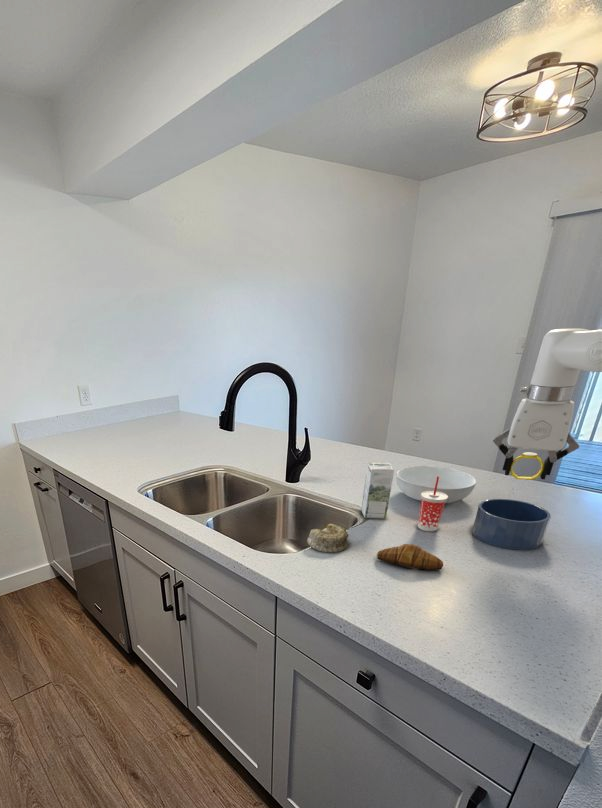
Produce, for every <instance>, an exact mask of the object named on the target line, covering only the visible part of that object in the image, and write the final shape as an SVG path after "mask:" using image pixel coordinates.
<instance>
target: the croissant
mask: <svg viewBox="0 0 602 808" xmlns="http://www.w3.org/2000/svg"><path fill="white" fill-rule="evenodd" d="M376 558H377V560H379V561H381V562H383V563H386V564H390V565H396V566H400V567H403V568H406V569H415V570H425V571H438V570H442V569H443V567H444V561H443V560H442V559H440V557H437V556H436V555H434V554H432V553H431V552H429V551H426V550H424V549H423V548H421V546H419V545H416V544H413V543H407V544H406V543H404V544H402V545H398V546H392V547H387V548H383V549H381V550H379V551H378V552H377V553H376Z"/></svg>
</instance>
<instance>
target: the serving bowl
mask: <svg viewBox="0 0 602 808" xmlns="http://www.w3.org/2000/svg"><path fill="white" fill-rule="evenodd" d="M437 476H439V480H438V485H437V490H436V492H441V493H444V494H446V495H447V496H448V499H447V501H446V502H445V504H450V503H456V502H459V501H462V500H464V499H465V498H467V497H468V496H469V495H471V494H472V492H473V490H474V489H475V487H476V485H477V479H476V478H475V477H474V476H473V475H471V474H469V473H467V472H464V471H462V470H458V469H455V468H450V467H446V466H437V465H412V466H407V467H403V468H401V469H398V471H396V476H395V477H396V478H395V479H396V485H397V486H398V489H399V490H400V491H401V492H402V493H403V494H404V495H405V496H407V497H408V498H411V499H413V500H417V501H420V502H421V498H420V497H421V493H422V492H425V491H434V489H435V484H436V480H437Z"/></svg>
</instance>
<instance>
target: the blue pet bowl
mask: <svg viewBox="0 0 602 808" xmlns="http://www.w3.org/2000/svg"><path fill="white" fill-rule="evenodd" d="M551 518H552V516H551V513H550V511H549V510H547V509H545V508H544V507H542V506H539V505H537V504H534V503H530V502H527V501H522V500H517V499H509V498H491V499H485V500H481V502H480V503H478V506H477V509H476V514H475V518H474V522H473V524H472V525H473V526H472V531H471V532H472V534H473V536H474V537H475V538H477V539H478V540H480V541H481V542H484V543H486V544H488V545H491V546H495V547H499V548H503V549H508V550H509V549H510V550H518V551H519V550H520V551H522V550H525V551H526V550H533V549H536V548H539V547H540V546H541V545H542V543H543V541H544V537H545V534H546V532H547V528H548V526H549V523H550V522H551Z"/></svg>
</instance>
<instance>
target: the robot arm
mask: <svg viewBox="0 0 602 808" xmlns="http://www.w3.org/2000/svg"><path fill="white" fill-rule="evenodd" d="M581 371H585V372H592V373H602V328H600V329H593V330H592V329H591V330H590V329H587V328H578V327H577V328H576V327H575V328H555V329H551V330H549V331H548V332H546V334H545V335H543V339H542V342H541V345H540V349H539V352H538V355H537V359H536V362H535V366H534V370H533V372H532V376H531V380H530V383H529V385H527V386H523V387H522V386H521V387H520V390H519V394H520V395H523V396H524V395H525V397H526V398H523V399H521V401H520V403H519V405H518V407H517V409H516V412H515V414H514V416H513V419H512V421H511V425H510V427H509V428H507V429H506V430H504V431H503V432H500V433H499V434H498V435H496V436H495V437H493V438H492V442H493V443H494V445H495V446H496V447H497V448H498V449H499V451H500V452H501V453H502V454H503V456H504V457H505V459H504V462H503V465H502V471H504V475H505V476H509V475H510V474H511V471H510V469H511V466H512V463H513V460H514V454H515V453H516V452H517V450H518V449H526V450H535V451H537V450H538V451H547V454H548V456H547V457H546V458H545V459H544V462H543V464H544V466H543V472H542V473H541V474H540V476H539V477H540V479H541V480H546V477H547V476H550V475H551V472H552V469H553V467H554V464H555V463H556V462H557V461H558V460H560V459H562V458H564V457H566V456H567V455H569V454H570V453H573V452H575V451H576V450H578V449H580V444H579V443H578V442H577V440H576V439H575V438H574V437H573V435H571V433H570V429H571V426H572V421H573V417H574V411H575V401H573V400H572V396H573V393H574V390H575V388H576V385H577V382H578V378H579V376H580V373H581ZM506 438H507V444H508V446H509V447H508V446H507V445H506V444H505V443H504V440H505V439H506ZM566 443H567V446H566Z"/></svg>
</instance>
